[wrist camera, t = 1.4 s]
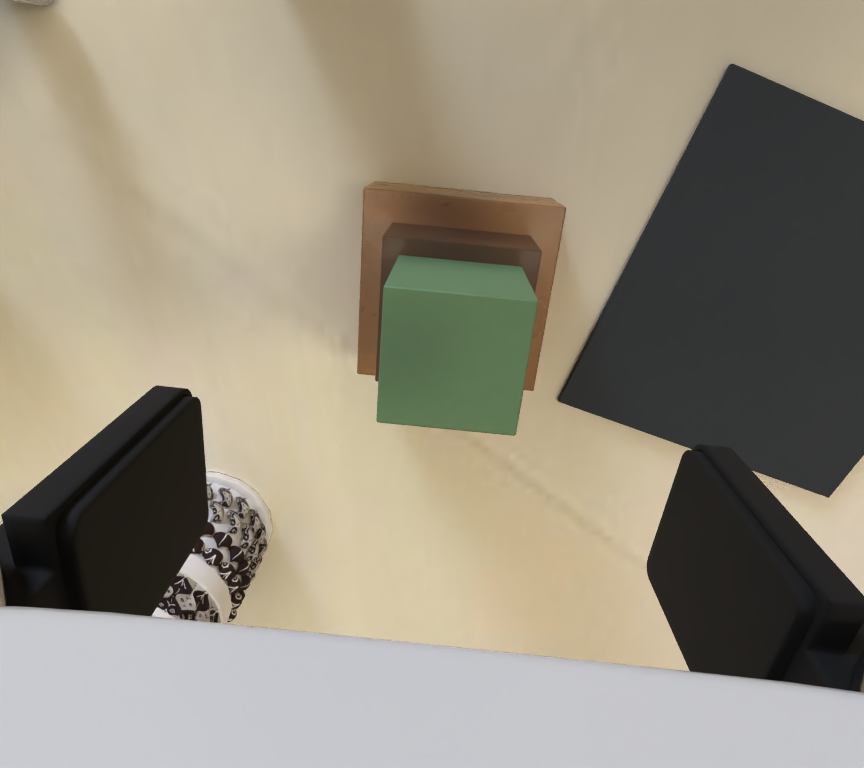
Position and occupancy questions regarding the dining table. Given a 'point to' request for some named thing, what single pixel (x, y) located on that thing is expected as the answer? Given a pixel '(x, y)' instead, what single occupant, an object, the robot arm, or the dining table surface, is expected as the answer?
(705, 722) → the robot arm
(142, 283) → the dining table surface
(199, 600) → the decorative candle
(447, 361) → the green block
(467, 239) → the walnut block
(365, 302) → the oak block
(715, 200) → the mat
